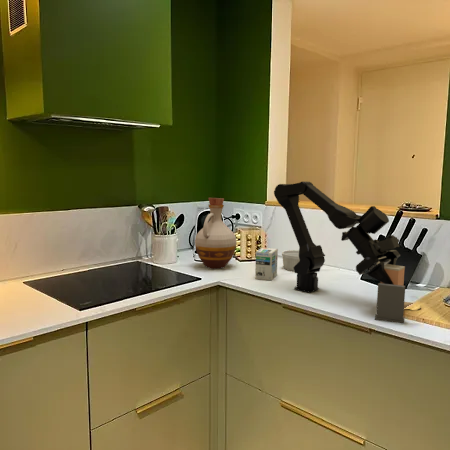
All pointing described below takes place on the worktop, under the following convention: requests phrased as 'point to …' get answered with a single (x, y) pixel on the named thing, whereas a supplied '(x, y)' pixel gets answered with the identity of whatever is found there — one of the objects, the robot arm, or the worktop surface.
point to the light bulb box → (266, 263)
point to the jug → (215, 238)
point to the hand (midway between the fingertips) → (396, 284)
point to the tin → (395, 273)
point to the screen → (390, 303)
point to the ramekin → (290, 259)
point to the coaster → (407, 304)
